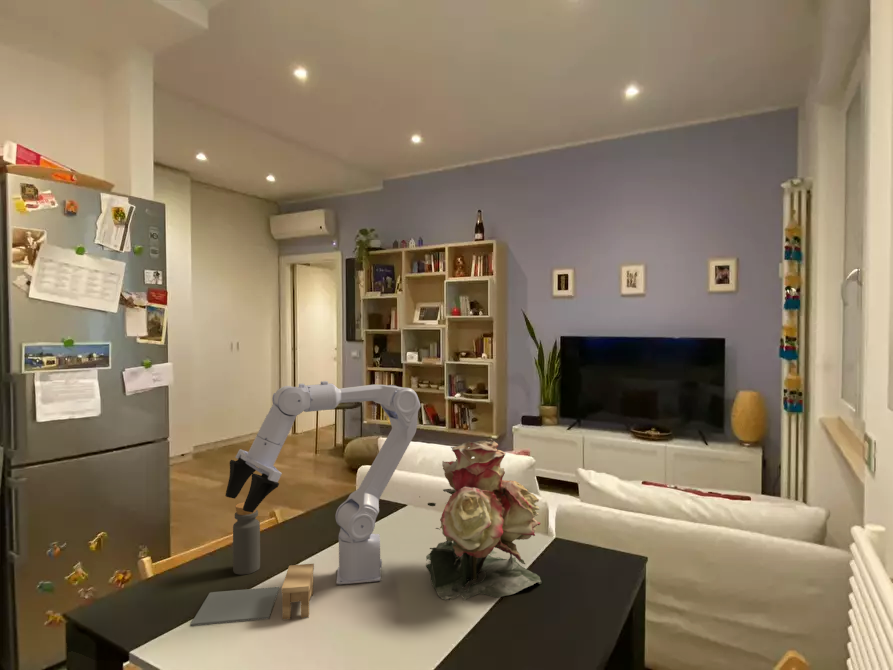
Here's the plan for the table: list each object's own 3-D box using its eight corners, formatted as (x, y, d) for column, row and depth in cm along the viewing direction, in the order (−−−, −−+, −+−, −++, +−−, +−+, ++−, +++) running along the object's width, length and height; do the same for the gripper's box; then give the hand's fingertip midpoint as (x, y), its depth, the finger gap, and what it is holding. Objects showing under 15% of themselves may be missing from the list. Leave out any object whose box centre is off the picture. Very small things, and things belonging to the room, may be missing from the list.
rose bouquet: (442, 613, 99) (440, 458, 99) (418, 552, 127) (417, 431, 127) (565, 598, 104) (563, 451, 104) (516, 542, 132) (515, 427, 133)
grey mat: (279, 588, 109) (279, 586, 109) (269, 618, 97) (269, 616, 97) (209, 594, 107) (209, 592, 107) (190, 626, 95) (190, 623, 95)
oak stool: (289, 594, 107) (289, 565, 107) (314, 592, 107) (313, 563, 107) (281, 620, 97) (281, 588, 97) (308, 617, 98) (308, 586, 98)
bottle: (250, 575, 115) (250, 509, 115) (227, 573, 116) (227, 507, 116) (265, 564, 121) (264, 501, 121) (242, 562, 122) (242, 499, 122)
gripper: (237, 425, 108) (205, 487, 105) (272, 445, 98) (238, 514, 95) (264, 435, 113) (235, 494, 110) (300, 454, 103) (269, 520, 100)
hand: (238, 504), depth 103 cm, fingers open, 7 cm apart
